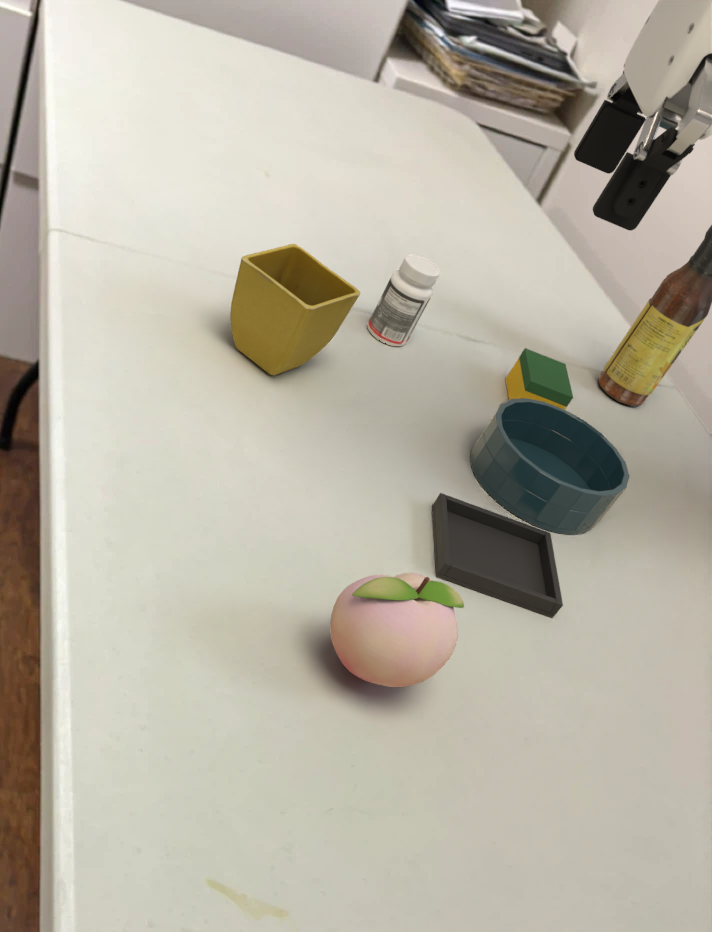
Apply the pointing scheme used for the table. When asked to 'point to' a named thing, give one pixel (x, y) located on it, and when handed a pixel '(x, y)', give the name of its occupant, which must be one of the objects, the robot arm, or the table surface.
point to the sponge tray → (495, 555)
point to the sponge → (539, 380)
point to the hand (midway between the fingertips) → (601, 192)
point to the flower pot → (287, 307)
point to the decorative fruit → (395, 628)
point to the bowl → (548, 466)
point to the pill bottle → (403, 300)
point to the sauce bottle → (661, 330)
